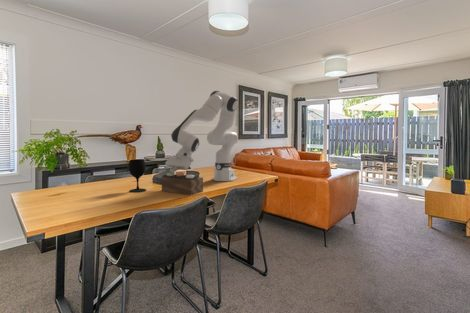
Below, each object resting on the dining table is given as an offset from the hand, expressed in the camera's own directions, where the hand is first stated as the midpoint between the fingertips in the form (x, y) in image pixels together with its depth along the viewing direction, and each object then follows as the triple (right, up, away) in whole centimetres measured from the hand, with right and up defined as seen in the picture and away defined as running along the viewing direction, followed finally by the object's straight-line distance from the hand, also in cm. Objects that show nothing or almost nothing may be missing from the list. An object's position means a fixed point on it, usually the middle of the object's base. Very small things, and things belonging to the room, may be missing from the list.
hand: (171, 172), depth 170 cm
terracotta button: (+7, -2, -4) cm, 8 cm away
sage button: (0, -3, 0) cm, 3 cm away
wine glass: (-21, -12, -1) cm, 24 cm away
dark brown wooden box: (+8, -12, -1) cm, 14 cm away
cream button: (+14, -3, -7) cm, 16 cm away
